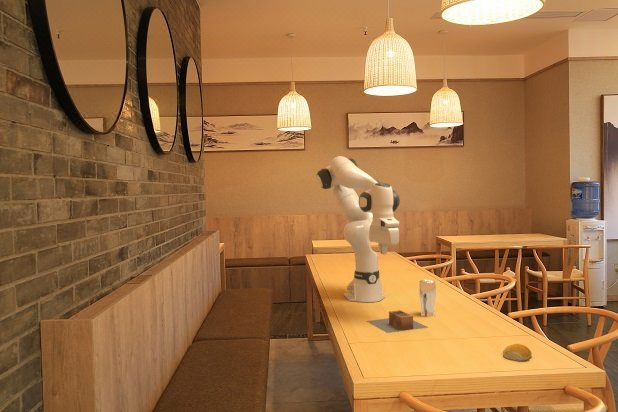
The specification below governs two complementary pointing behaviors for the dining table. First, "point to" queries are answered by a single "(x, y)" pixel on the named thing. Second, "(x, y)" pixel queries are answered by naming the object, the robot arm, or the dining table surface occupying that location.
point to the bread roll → (517, 352)
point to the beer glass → (427, 297)
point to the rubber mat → (388, 328)
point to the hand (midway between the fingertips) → (383, 254)
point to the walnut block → (401, 320)
